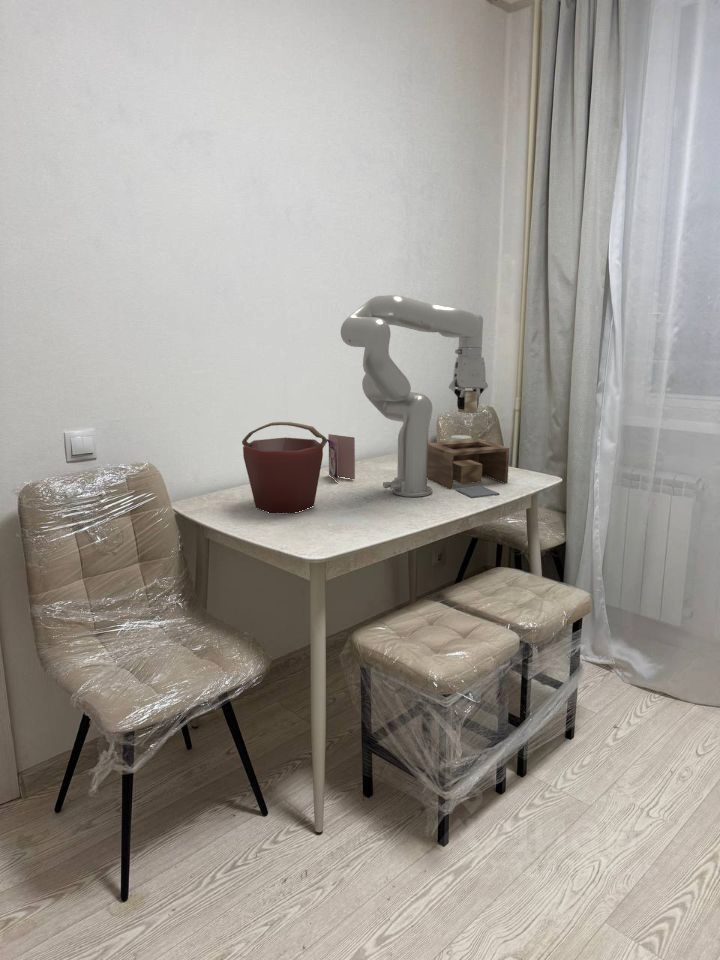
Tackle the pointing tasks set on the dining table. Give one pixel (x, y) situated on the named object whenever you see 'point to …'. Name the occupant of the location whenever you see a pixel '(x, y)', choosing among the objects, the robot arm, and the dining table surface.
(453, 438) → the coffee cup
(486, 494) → the slate mat
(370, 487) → the dining table surface
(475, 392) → the birch block
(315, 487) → the bucket
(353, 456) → the greeting card
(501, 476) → the slot box
